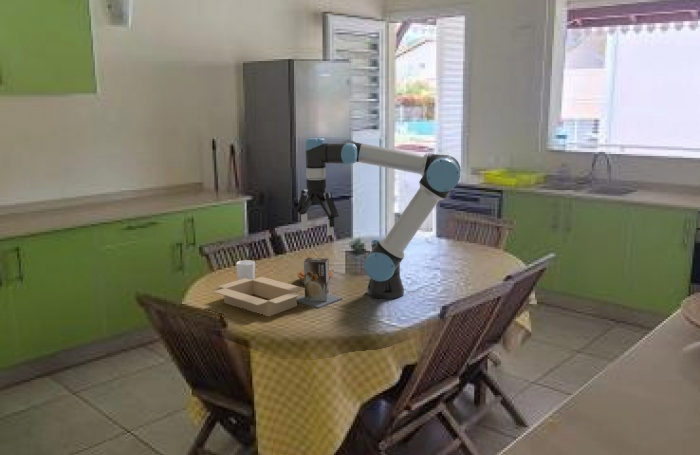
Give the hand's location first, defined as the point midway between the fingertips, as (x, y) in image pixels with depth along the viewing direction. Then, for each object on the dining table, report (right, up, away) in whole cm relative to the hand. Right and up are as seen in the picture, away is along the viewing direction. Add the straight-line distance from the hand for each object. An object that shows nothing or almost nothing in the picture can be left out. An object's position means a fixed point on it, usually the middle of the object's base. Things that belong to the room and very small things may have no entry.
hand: (317, 232), depth 247 cm
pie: (-3, -22, +31) cm, 38 cm away
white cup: (-32, -23, +27) cm, 48 cm away
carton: (-22, -28, +1) cm, 36 cm away
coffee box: (0, -27, +6) cm, 27 cm away
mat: (0, -27, +6) cm, 28 cm away
